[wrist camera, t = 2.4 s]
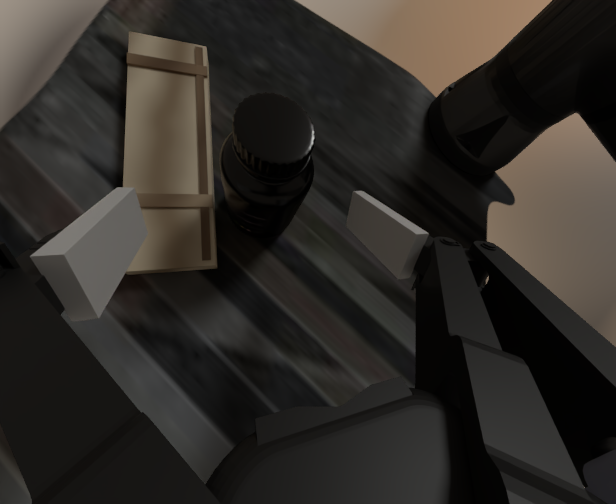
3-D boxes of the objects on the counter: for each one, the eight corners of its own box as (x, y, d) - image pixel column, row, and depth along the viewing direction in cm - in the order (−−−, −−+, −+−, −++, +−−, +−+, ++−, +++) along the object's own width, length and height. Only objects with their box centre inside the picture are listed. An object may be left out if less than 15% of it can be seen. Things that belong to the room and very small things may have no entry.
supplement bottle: (250, 168, 25) (260, 55, 14) (302, 203, 26) (351, 125, 14) (211, 215, 22) (183, 126, 11) (270, 252, 23) (298, 205, 12)
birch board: (208, 63, 26) (205, 44, 24) (217, 268, 21) (215, 264, 20) (136, 50, 24) (128, 28, 22) (130, 274, 19) (118, 271, 17)
